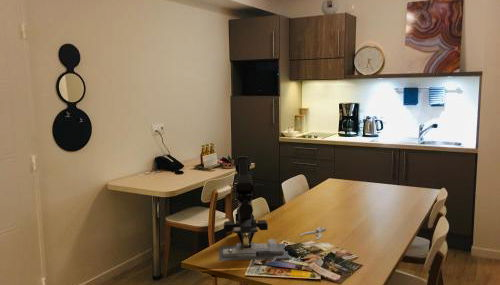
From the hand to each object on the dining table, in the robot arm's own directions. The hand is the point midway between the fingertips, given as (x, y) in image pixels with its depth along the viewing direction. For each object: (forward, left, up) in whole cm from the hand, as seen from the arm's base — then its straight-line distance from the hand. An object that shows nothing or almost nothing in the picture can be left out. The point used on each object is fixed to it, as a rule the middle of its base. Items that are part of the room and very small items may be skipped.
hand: (246, 244), depth 177 cm
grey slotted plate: (0, +3, -4) cm, 5 cm away
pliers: (-23, +35, -6) cm, 43 cm away
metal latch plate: (0, +4, -2) cm, 5 cm away
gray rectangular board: (-2, +3, -5) cm, 6 cm away
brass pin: (0, 0, -2) cm, 2 cm away
